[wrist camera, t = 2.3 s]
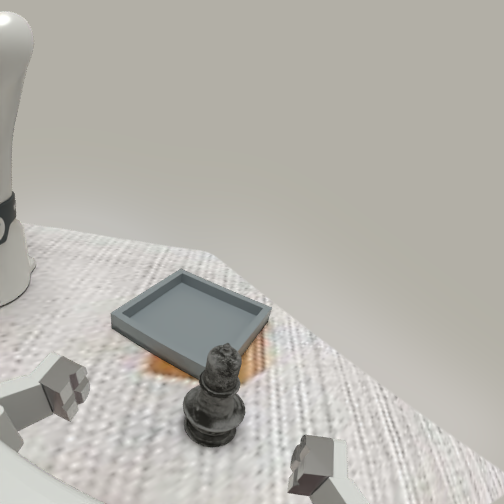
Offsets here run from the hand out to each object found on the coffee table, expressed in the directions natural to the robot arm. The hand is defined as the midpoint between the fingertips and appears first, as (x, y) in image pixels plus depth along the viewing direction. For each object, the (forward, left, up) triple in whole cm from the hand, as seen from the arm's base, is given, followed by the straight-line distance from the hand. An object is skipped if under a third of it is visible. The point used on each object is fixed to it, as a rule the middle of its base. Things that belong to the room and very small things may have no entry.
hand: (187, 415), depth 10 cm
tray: (-13, +25, -19) cm, 34 cm away
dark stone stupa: (-3, +12, -19) cm, 23 cm away
